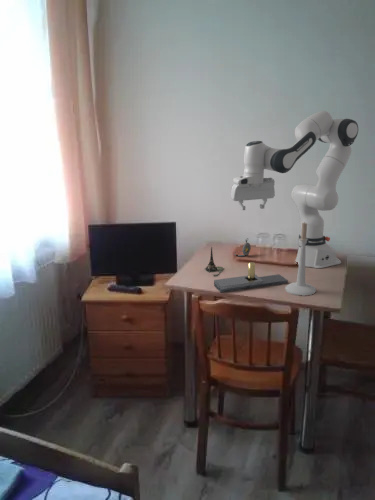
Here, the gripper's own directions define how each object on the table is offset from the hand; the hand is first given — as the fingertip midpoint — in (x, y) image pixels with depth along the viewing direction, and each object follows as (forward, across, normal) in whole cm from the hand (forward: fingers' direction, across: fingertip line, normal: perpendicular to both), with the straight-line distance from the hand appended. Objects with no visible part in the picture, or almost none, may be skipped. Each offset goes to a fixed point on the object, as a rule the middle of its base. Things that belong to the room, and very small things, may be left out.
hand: (252, 209), depth 203 cm
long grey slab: (+31, +6, +13) cm, 34 cm away
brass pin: (+31, +6, +13) cm, 34 cm away
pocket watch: (+31, -7, -26) cm, 41 cm away
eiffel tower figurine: (+32, +16, -10) cm, 37 cm away
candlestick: (+31, -11, +26) cm, 42 cm away
